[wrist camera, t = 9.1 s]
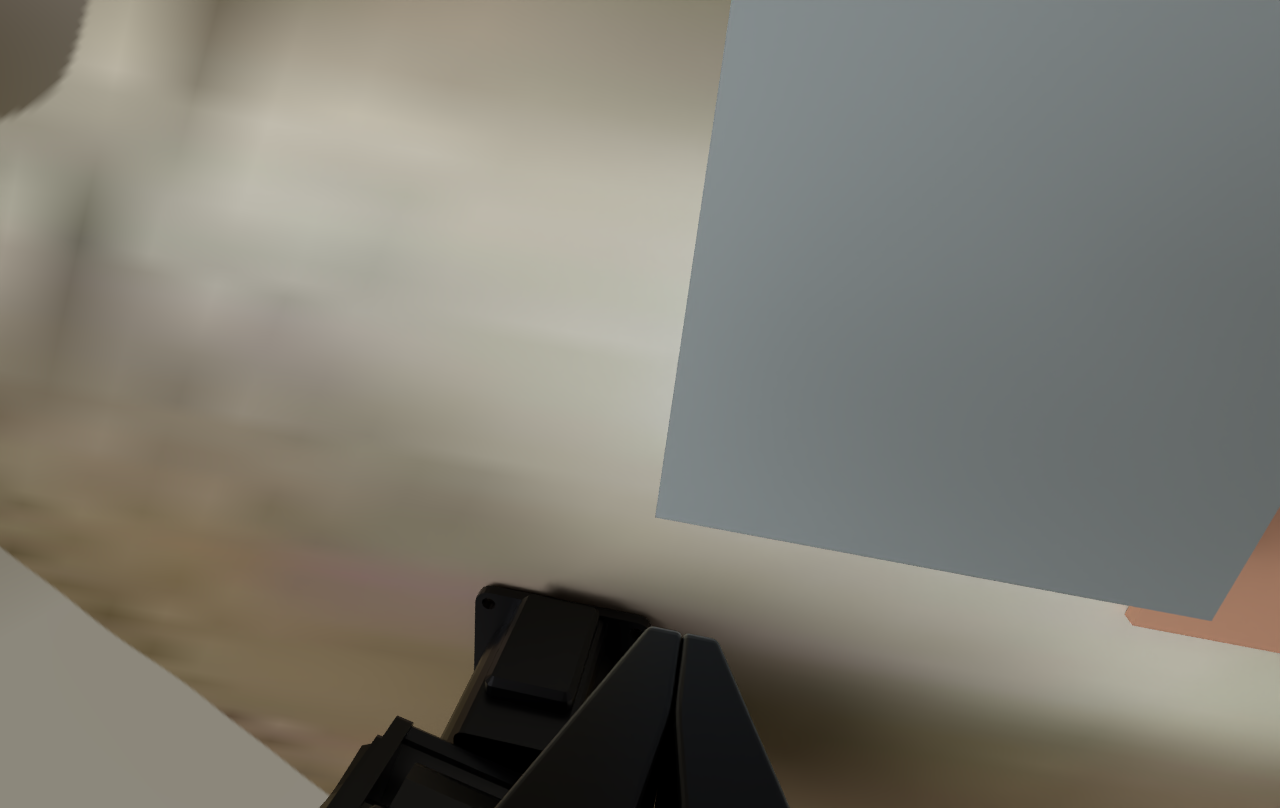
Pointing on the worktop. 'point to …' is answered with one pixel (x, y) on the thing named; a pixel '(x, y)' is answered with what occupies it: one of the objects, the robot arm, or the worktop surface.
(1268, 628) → the mat
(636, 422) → the worktop surface
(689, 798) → the robot arm
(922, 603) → the worktop surface
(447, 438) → the worktop surface
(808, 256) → the light blue flat slab
